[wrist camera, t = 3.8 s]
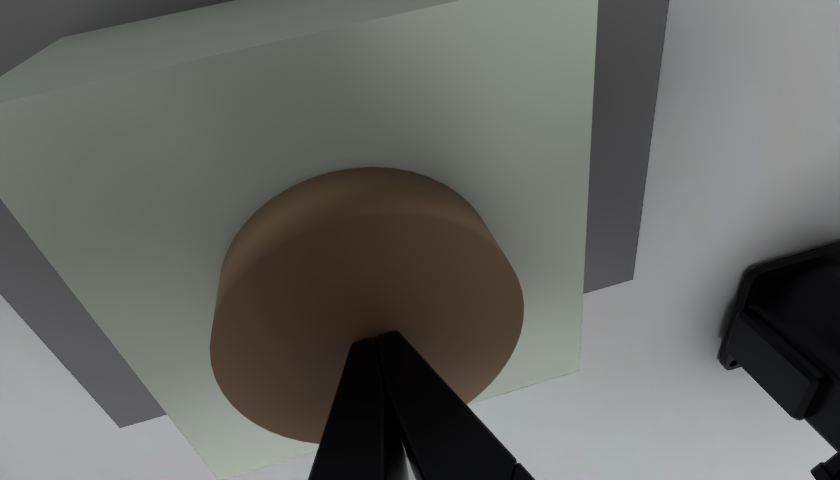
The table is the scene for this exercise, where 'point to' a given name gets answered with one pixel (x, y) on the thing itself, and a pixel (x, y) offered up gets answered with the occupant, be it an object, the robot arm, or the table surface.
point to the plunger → (358, 293)
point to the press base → (302, 166)
